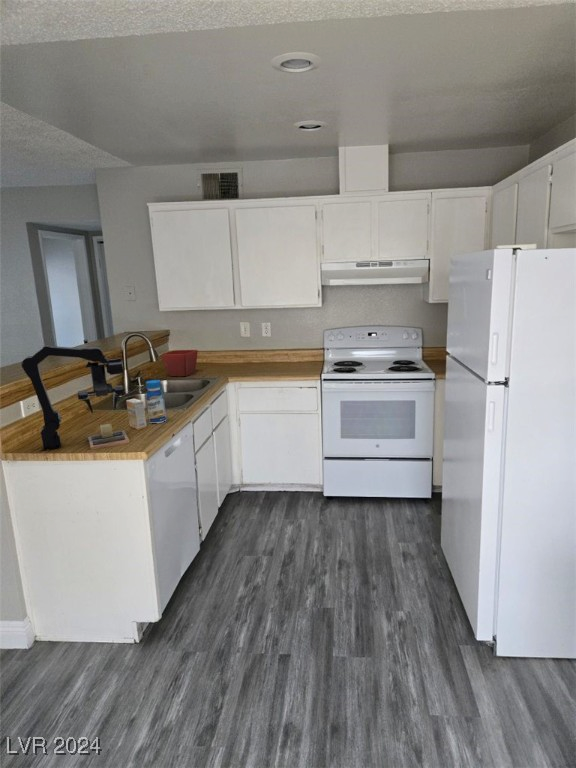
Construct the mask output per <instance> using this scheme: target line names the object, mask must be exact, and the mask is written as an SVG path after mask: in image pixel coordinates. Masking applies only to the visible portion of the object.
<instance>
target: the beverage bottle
mask: <svg viewBox="0 0 576 768" xmlns="http://www.w3.org/2000/svg"><path fill="white" fill-rule="evenodd" d="M161 383H162V382H161V380H160V379H152V380H147V381H146V382H145V387H146V389H147V391H146V394H145V397H146V400H145V401H146V406H147V411H148V412H147V413H148V422H149V424H152V423H157V424H161V423H165V422H166V421H167V413H166V406H165V397H164V391H163V390H162V384H161ZM164 421H165V422H164Z"/></svg>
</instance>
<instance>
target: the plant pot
mask: <svg viewBox="0 0 576 768" xmlns="http://www.w3.org/2000/svg"><path fill="white" fill-rule="evenodd" d="M160 355H161V359H162V362H163V364H164V367H165V369H166V372H167V373H168V375H169V377H170V376H186V377H189V376H191V375H193V374H195V371H196V365H197V362H198V349H181V350H180V349H179V350H177V349H175V350H172V351H168V352H164V353H162V354H160ZM188 375H189V376H188Z"/></svg>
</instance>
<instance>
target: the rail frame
mask: <svg viewBox="0 0 576 768" xmlns="http://www.w3.org/2000/svg"><path fill="white" fill-rule="evenodd" d="M112 432H113V437H110V438H105V439H102V434H95V435H90V436H87V437H88V438H87V439H88V443H89V447H90V450H91V451H92V450H98V449H103V448H108V447H113V446H114V447H115V446H119V444H120V445H125V444H130V443H129V442H130V439H129V437H128V435H127V433H126V431H125V430H124V429H123V430H118V431H112ZM116 440H117V441H116ZM124 443H125V444H124ZM95 444H96V445H95Z"/></svg>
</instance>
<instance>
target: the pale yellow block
mask: <svg viewBox="0 0 576 768" xmlns="http://www.w3.org/2000/svg"><path fill="white" fill-rule="evenodd" d="M99 427H100V431H101V432H100V433H101V434H102V438H101V439H105V438H110V437H114V435H113V432H114V431H113V427H112V423H107V424H100V425H99Z"/></svg>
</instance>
